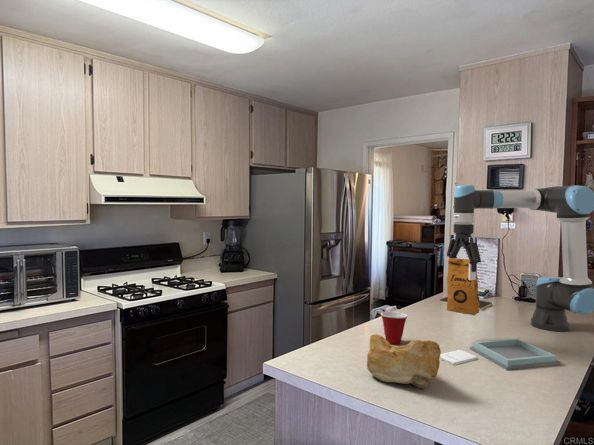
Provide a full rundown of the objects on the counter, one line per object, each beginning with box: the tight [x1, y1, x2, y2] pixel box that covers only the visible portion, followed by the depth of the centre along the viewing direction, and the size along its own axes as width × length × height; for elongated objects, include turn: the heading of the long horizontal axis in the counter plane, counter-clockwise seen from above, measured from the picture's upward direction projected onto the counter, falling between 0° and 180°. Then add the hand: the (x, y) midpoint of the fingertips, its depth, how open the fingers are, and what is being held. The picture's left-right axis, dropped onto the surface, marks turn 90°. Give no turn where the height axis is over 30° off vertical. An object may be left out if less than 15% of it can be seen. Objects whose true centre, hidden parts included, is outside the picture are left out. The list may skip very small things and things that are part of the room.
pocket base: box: [469, 338, 561, 371], centre depth 152 cm, size 22×20×3 cm
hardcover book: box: [439, 296, 493, 312], centre depth 229 cm, size 16×23×2 cm
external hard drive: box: [439, 349, 478, 366], centre depth 150 cm, size 2×8×12 cm
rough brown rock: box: [366, 333, 442, 390], centre depth 132 cm, size 23×17×15 cm
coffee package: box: [446, 257, 480, 316], centre depth 165 cm, size 10×12×22 cm
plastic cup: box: [380, 311, 408, 346], centre depth 166 cm, size 11×11×12 cm
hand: (462, 276), depth 166 cm, fingers closed on coffee package, 12 cm apart
